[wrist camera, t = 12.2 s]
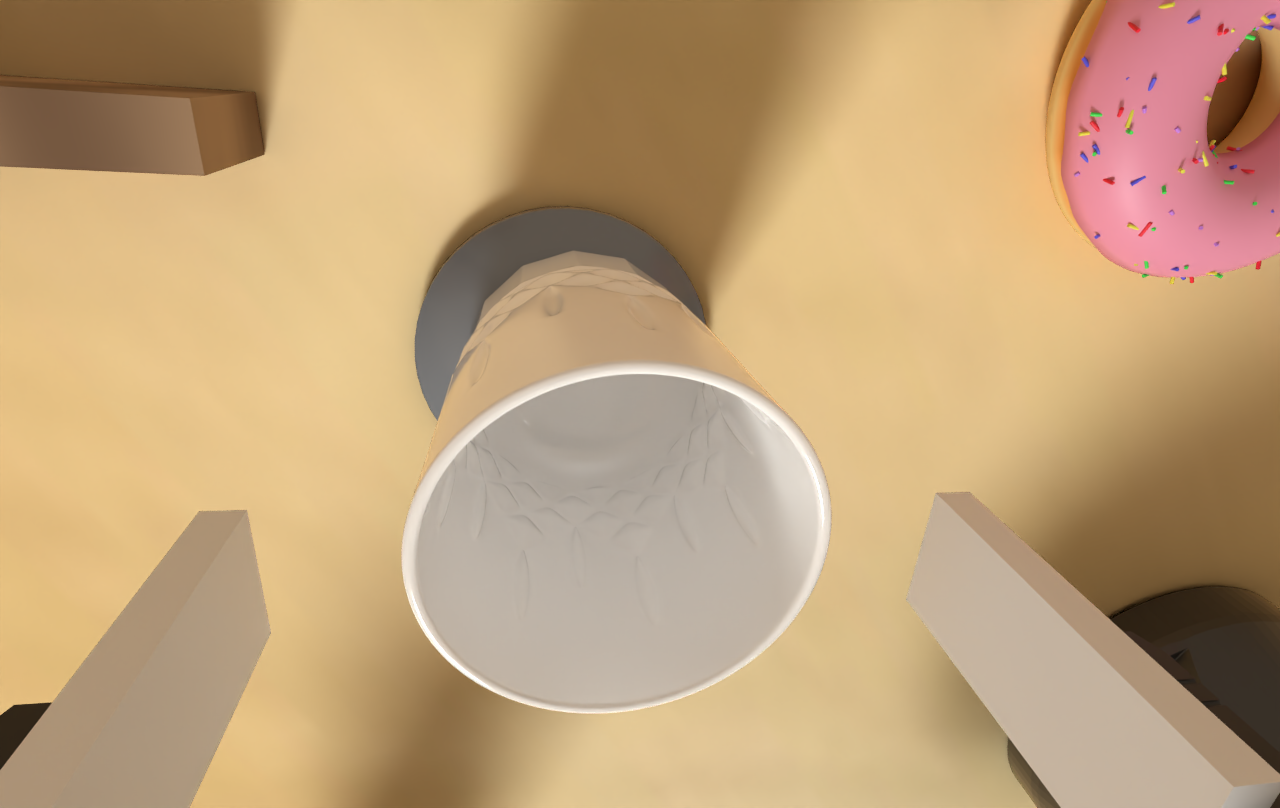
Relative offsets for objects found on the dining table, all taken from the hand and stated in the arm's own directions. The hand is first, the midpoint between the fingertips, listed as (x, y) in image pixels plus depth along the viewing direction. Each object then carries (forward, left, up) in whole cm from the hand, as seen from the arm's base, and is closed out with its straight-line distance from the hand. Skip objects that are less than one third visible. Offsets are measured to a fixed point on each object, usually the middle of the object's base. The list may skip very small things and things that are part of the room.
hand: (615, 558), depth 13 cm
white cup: (0, 0, -10) cm, 10 cm away
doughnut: (-19, -9, -10) cm, 23 cm away
